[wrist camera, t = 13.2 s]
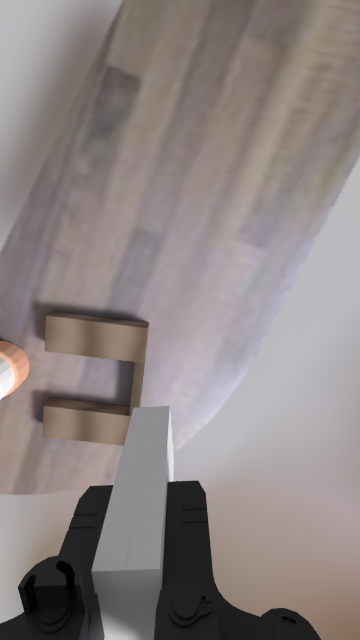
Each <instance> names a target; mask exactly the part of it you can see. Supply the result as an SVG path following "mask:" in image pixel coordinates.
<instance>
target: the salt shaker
mask: <svg viewBox="0 0 360 640" xmlns="http://www.w3.org/2000/svg"><path fill="white" fill-rule="evenodd" d="M28 372H29V361H28V359H27V356H26V354H25V353H24V352H23V351H22V349H21V348H19V347H18V346H16V345H15V344H13V343H10V342H7V341H0V400H1V399H2V398H3V397H5V396H7V395H8V394H10V393H12V392H13V391H14V390H15V389H16V388H17V387H18V386H19V385H20V384H21V383H22V382H23V381H24V380H25V379H26V377H27V375H28Z"/></svg>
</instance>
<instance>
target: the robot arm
mask: <svg viewBox="0 0 360 640" xmlns="http://www.w3.org/2000/svg"><path fill="white" fill-rule="evenodd" d="M173 469H174V458H173V444H172V430H171V416H170V406H161V407H139V408H133V412H132V416H131V420H130V424H129V427H128V431H127V435H126V439H125V443H124V447H123V451H122V455H121V458H120V462H119V466H118V470H117V474H116V478H115V482H114V485H105V486H90V487H89V488H88V489H87V491H86V492H85V493H84V494H83V496H82V497H81V498H80V499H79V502H78V504H77V507H76V509H75V512H74V517H73V518H72V520H71V523H70V526H69V530H68V531H67V534H66V536H65V539H64V542H63V545H62V547H61V550H60V553H59V555H58V556H54V557H49V558H47V559H45V560H43V561H41V562H40V563H38V564H36V565H35V566H34V567H33V568H32V569H31V570H30V571H29V572H28V573H27V574H26V575H25V576H24V578H23V579H22V581H21V583H20V584H19V586H18V590H19V593H20V597H21V601H22V604H23V608H24V612H23V613H22V614H20V615H19V616H17V617H15V618H13V619H11V620H8V621H6V622H3V623H1V624H0V640H321V639H320V637H319V635H318V634H317V633H316V631H315V630H314V628H313V627H312V626H311V624H310V623H309V622H308V621H307V620H306V619H304V618H303V617H302V616H300V615H299V614H298V613H297V612H294V611H291V610H288V609H285V608H277V609H271V610H269V611H268V612H266V613H264V614H263V615H262V616H261V617H259V616H256V615H253V614H250V613H247V612H244V611H242V610H240V609H238V608H236V607H234V606H232V605H231V604H230V603H229V602H227V601H226V600H225V599H224V598H223V597H222V595H221V594H220V592H219V591H218V589H217V586H216V584H215V581H214V577H213V570H212V559H211V549H210V537H209V526H208V515H207V504H206V493H205V491H204V490H203V488H202V486H201V485H200V483H199V481H176V482H173Z"/></svg>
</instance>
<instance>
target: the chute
mask: <svg viewBox="0 0 360 640" xmlns="http://www.w3.org/2000/svg"><path fill="white" fill-rule="evenodd" d="M148 329H149V323H144V322H136V321H128V320H120V319H112V318H104V317H97V316H89V315H81V314H73V313H65V312H57V311H52V312H50V313H49V314H47V315H46V324H45V351H49V352H57V353H65V354H74V355H82V356H90V357H98V358H106V359H114V360H123V361H131V362H135V365H134V375H133V384H132V394H131V404H130V407H129V406H120V405H111V404H103V403H94V402H86V401H77V400H69V399H60V398H52V397H50V398H49V400H48V401H47V402H46V404H45V405H44V409H43V436H44V437H53V438H62V439H70V440H79V441H88V442H97V443H106V444H115V445H124V443H125V439H126V435H127V431H128V427H129V424H130V420H131V416H132V412H133V408H139V407H140V400H141V391H142V382H143V373H144V364H145V355H146V346H147V337H148Z"/></svg>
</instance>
